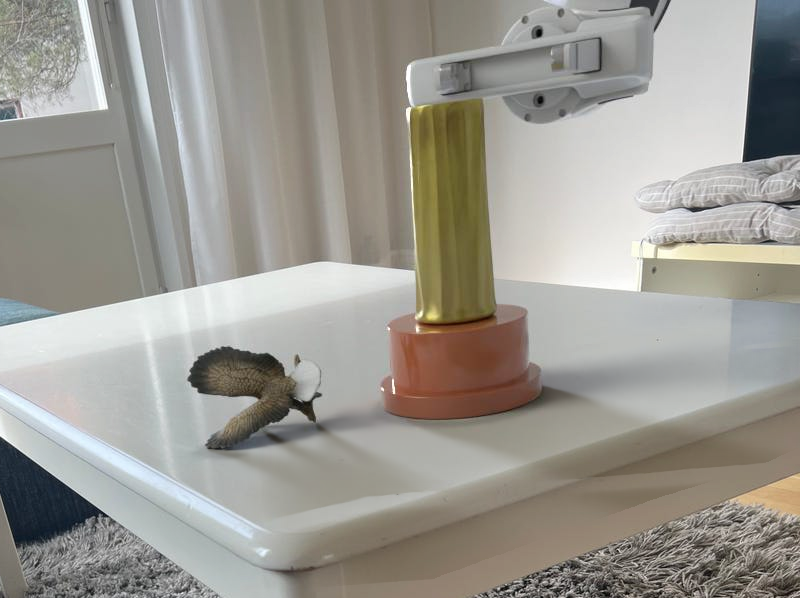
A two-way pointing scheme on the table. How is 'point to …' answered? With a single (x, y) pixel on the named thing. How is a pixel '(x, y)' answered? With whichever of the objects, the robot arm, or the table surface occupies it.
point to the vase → (450, 212)
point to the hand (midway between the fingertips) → (499, 68)
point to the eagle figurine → (255, 389)
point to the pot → (460, 366)
